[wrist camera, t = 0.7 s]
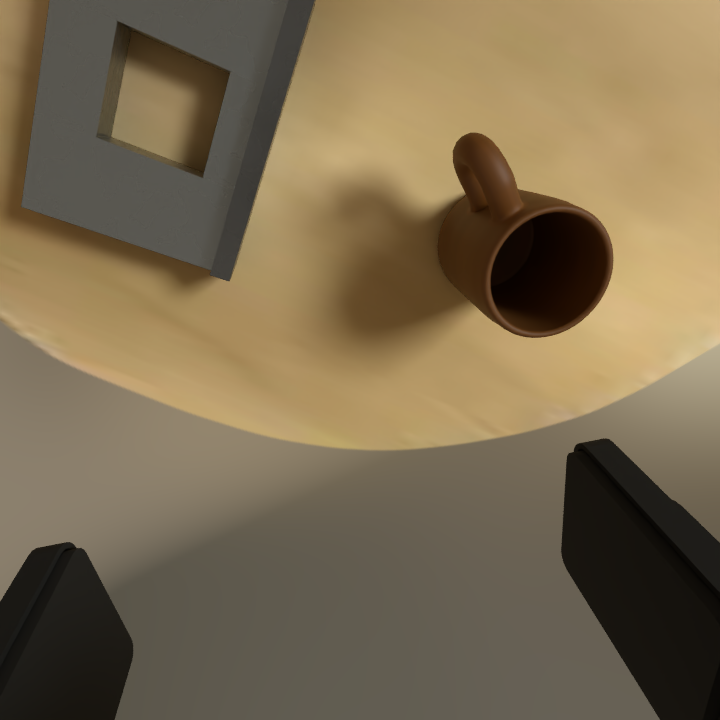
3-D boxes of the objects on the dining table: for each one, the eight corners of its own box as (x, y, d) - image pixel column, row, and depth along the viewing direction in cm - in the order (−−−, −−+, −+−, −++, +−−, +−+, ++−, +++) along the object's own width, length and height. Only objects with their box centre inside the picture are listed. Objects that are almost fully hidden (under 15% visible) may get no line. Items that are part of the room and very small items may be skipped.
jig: (88, -111, 25) (59, -146, 22) (314, 4, 28) (318, -12, 25) (41, 201, 30) (12, 209, 27) (234, 267, 33) (229, 281, 30)
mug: (380, 170, 32) (413, 183, 24) (481, 98, 31) (553, 85, 23) (465, 312, 37) (517, 365, 29) (554, 253, 36) (636, 291, 28)
